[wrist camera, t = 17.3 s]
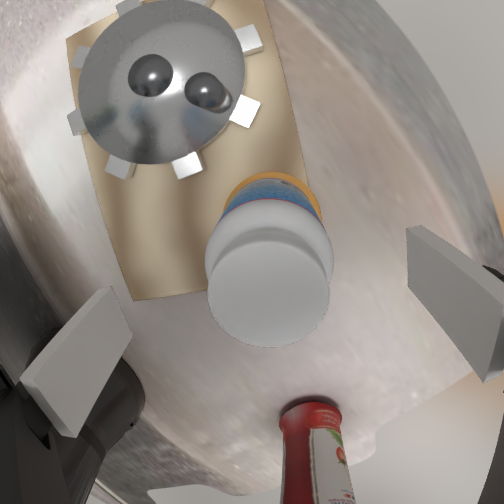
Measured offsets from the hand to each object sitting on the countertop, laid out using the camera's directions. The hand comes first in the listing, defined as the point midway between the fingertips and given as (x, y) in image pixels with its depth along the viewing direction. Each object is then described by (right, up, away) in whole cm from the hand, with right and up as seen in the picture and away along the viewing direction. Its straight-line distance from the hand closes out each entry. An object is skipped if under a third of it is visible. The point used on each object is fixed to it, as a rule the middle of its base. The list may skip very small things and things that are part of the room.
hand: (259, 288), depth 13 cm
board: (-5, +10, +9) cm, 14 cm away
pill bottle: (+1, +4, +9) cm, 10 cm away
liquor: (+6, -16, +18) cm, 25 cm away
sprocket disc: (-7, +14, +6) cm, 17 cm away
